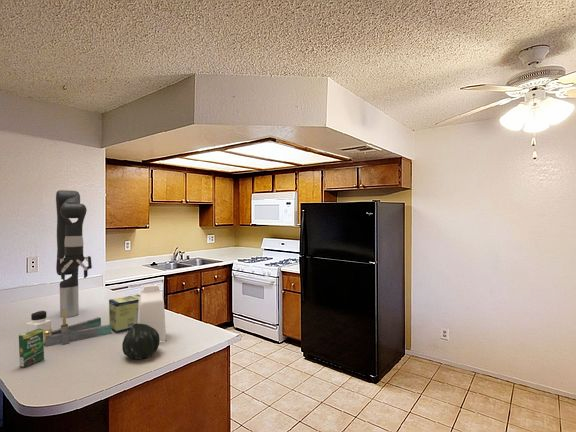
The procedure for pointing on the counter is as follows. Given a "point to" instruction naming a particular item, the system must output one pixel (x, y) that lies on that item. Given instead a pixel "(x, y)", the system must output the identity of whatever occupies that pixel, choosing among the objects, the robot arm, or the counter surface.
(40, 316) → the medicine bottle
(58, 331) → the tong arm
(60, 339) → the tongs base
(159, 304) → the milk
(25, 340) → the coffee box
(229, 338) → the counter surface
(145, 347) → the squash
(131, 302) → the protein box
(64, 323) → the lock pin
